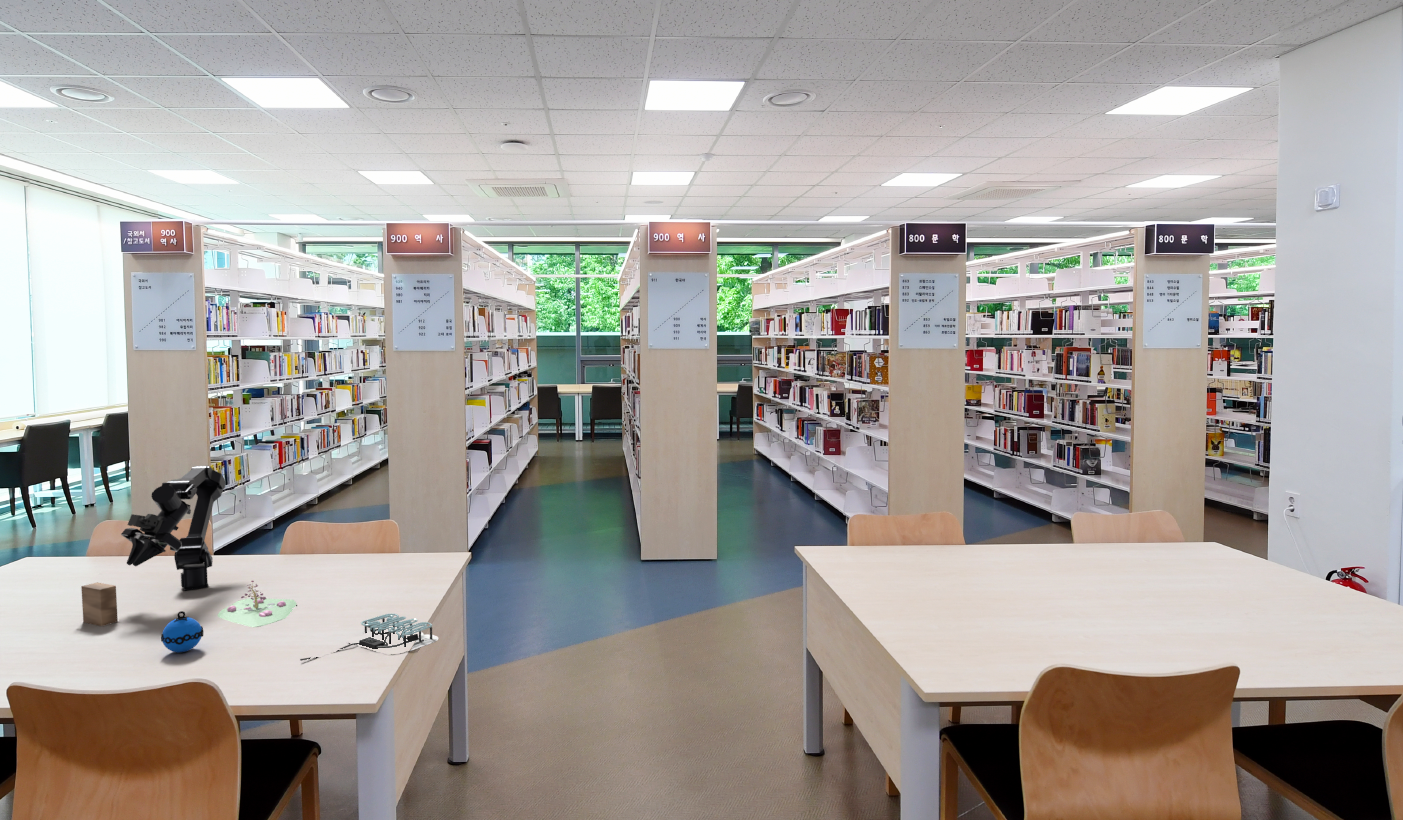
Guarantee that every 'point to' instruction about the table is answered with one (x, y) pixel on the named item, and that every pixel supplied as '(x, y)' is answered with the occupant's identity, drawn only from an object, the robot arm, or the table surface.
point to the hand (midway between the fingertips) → (131, 565)
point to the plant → (257, 610)
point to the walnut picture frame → (99, 604)
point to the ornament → (182, 634)
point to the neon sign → (385, 625)
